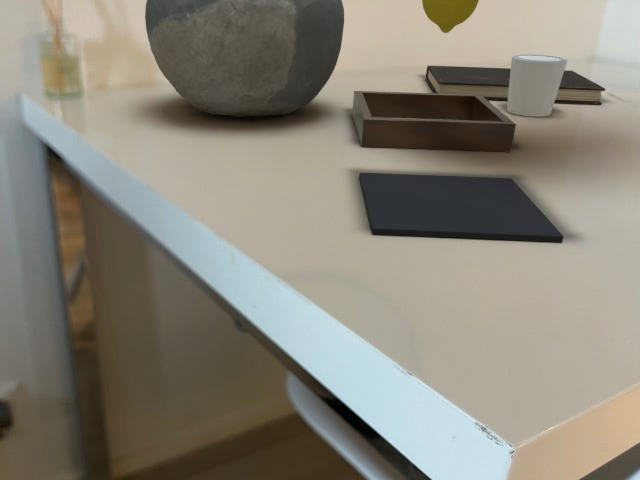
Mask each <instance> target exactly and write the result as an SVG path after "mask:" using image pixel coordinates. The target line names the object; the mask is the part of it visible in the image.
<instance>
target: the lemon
mask: <svg viewBox="0 0 640 480" xmlns="http://www.w3.org/2000/svg"><path fill="white" fill-rule="evenodd" d="M479 1H480V0H421V2H422V8H423V12H424V14H425V15H426V17H427V18H428V20H429V21H431V22H432V23H434V24H435V25H437V26H438V28H439V30H440V32H441V33H444V34H447V33H450V32H452V30H453V29H454V28H455V27H457V26H458V25H460V24H463V23H464V22H466V21H467V20H468V19H469V18H470V17H471V16H472V15H473V13H474V12H475V10H476V8H477V6H478V4H479Z"/></svg>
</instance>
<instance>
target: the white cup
mask: <svg viewBox="0 0 640 480" xmlns="http://www.w3.org/2000/svg"><path fill="white" fill-rule="evenodd" d="M510 61H511V62H510V68H511V70H510V81H509V92H508V101H506V104H507V105H506V111H507V112H508V113H509V114H513V115H518V116H523V117H534V118H535V117H537V118H538V117H539V118H540V117H541V118H542V117H548V116H551V114H552V111H553V108H554V105H555V103H554V102H555V99H556V95H557V92H558V89H559V86H560V83H561V79H562V76H563V73H564V70H566V66H567V63H568V59H566V58H563V57H560V56H555V55H554V56H553V55H547V54H516V55H512V56H511V60H510Z"/></svg>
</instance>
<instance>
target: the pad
mask: <svg viewBox="0 0 640 480" xmlns="http://www.w3.org/2000/svg"><path fill="white" fill-rule="evenodd" d="M358 179H359V182H360V187H361V192H362V196H363V201H364V204H365V208H366V213H367V216H368V221H369V222H368V223H369V226H370V231H371V234H372V235H383V236H406V237H432V238H453V239H454V238H457V239H476V240H477V239H480V240H500V241H501V240H502V241H523V242H524V241H525V242H526V241H527V242H547V243H548V242H549V243H551V242H552V243H562V242H563V240H564V235H563V234H562V233H561V232H560V231H559V229H558V228H557V227H556V226H555V225H554V223H552V222H551V221H550V220H549V218H548V217H547V216H546V215H545V214H544V213H543V212H542V210H541V209H540V208H539V207H538V206H537V205H536V204H535V202H533V201H532V199H531V198H530V197H529V196H528V195H527V194H526V192H525V191H524V190H523V189H522V188H521V187H520V186H519V184H517V182H515V180H514V179H513V178H511V177H492V176H491V177H489V176H465V175H464V176H463V175H437V174H436V175H435V174H408V173H386V172H385V173H382V172H381V173H380V172H359V175H358Z"/></svg>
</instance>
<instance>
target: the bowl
mask: <svg viewBox="0 0 640 480" xmlns="http://www.w3.org/2000/svg"><path fill="white" fill-rule="evenodd" d="M144 19H145V21H144V22H145V30H146V34H147V40H148V43H149V46H150V47H149V48H150V51H151V53H152V55H153V58H154V60H155V63H156V64H157V66H158V69H159V70H160V72H161V74H162V75H163V77H164V78H165V79H166V80H167V81H168V82H169V83H170V85H171V86H172V87H173V88H174V90H175V91H176V93H177V94H179V96H180V97H181V98H183V100H184V101H186V102H187V104H189V105H191V106H192V107H194V108H195V109H196V110H199V111H201V112H205V114H210V115H214V116H217V115H222V116H231V117H235V118H238V117H258V116H259V117H260V116H285V115H289V114H291V113H293V112H295V111H297V110H299V109H301V108H303V107H305V106H306V105H308V104H310V103H311V102H312V101H313V100H314V99H315V98H316V97H317V96H318V95H319V93H321V91H322V90H323V88H324V87H325V86H326V84H327V83H328V81H329V80H330V79H331V76H332V75H333V73H334V71H335V69H336V66H337V63H338V59H339V57H340V52H341V49H342V42H343V36H344V35H343V34H344V28H345V27H344V25H345V7H344V3H343V0H146V3H145V13H144Z"/></svg>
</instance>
